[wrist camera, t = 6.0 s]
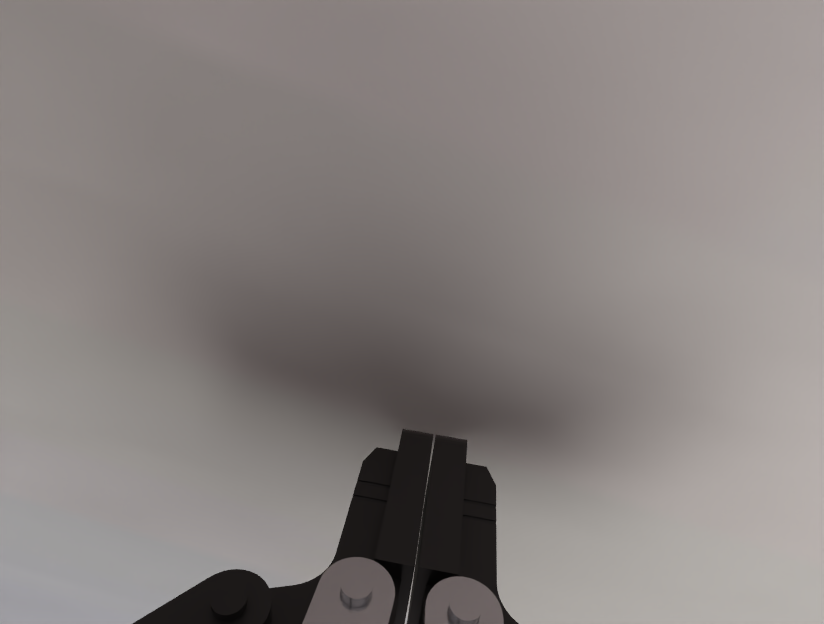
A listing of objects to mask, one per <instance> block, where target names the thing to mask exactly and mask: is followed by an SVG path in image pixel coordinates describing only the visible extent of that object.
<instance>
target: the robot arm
mask: <svg viewBox="0 0 824 624" xmlns="http://www.w3.org/2000/svg"><path fill="white" fill-rule="evenodd" d="M432 441H433V434H429V433H423V432H417V431H412V430H406V429H403V431H402V435H401V440H400V444H399V449H398V451H394V450H389V449H383V448H377V447H376V449H375V450H374V451H373V452H372V453H371V454H370V455H369V456H368V457H367V458H366V459H365V460H364V461H363V463H362V467H361V470H360V473H359V477H358V481H357V484H356V487H355V490H354V494H353V498H352V501H351V504H350V507H349V511H348V514H347V518H346V521H345V525H344V528H343V531H342V535H341V538H340V542H339V545H338V548H337V552H336V555H335V557H334V559H333V561H332V563H331V564H330V566H329V567H328V568H327V569H326V570H325V571H324V572H323V573H322V574H321V575H319V576H318V577H316V578H314V579H312V580H310V581H308V582H305V583H302V584H298V585H292V586H284V587H276V588H269V587H268V585H267V584H266V582H265V581H264V580H263V579H262V578H261V577H260V576H258V575H257V574H255V573H253V572H250V571H246V570H239V569H235V570H227V571H223V572H220V573H217V574H215V575H213V576H211V577H209V578H207V579H206V580H204V581H202V582H201V583H199V584H198V585H196V586H194V587H193V588H191V589H189V590H188V591H186V592H184V593H183V594H181V595H179V596H178V597H176V598H174V599H173V600H171V601H169V602H168V603H166V604H164V605H163V606H161V607H159V608H158V609H156V610H154V611H153V612H151V613H149V614H148V615H146V616H144V617H143V618H141V619H140V620H138V621H136V622H135V623H133V624H404V623H405V618H406V612H407V606H408V601H409V595H410V590H411V584H412V579H413V585H412V592H411V599H410V606H409V613H408V620H407V624H518V623H517V622H516V621H515V620H514V619H513V618H512V617H511V616H510V615H509V613H508V612H507V611H506V610H505V608H504V606H503V604H502V603H501V600H500V598H499V595H498V591H497V564H496V485H495V483H494V481H493V479H492V477H491V475H490V473H489V471H488V469H487V467H484V466H479V465H473V464H467V463H466V452H467V440H464V439H458V438H452V437H447V436H441V435H436V438H435V443H434V449H433V454H432V460H431V466H430V471H429V477H428V470H429V463H430V456H431V449H432ZM427 477H428V483H427ZM426 484H427V489H426ZM425 491H426V495H425ZM424 498H425V501H424ZM423 505H424V508H423ZM422 512H423V514H422ZM421 519H422V522H421ZM420 526H421V529H420ZM419 533H420V536H419ZM418 540H419V543H418ZM417 547H418V550H417ZM416 554H417V557H416ZM415 561H416V564H415ZM414 568H415V571H414ZM413 573H414V578H413Z"/></svg>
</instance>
